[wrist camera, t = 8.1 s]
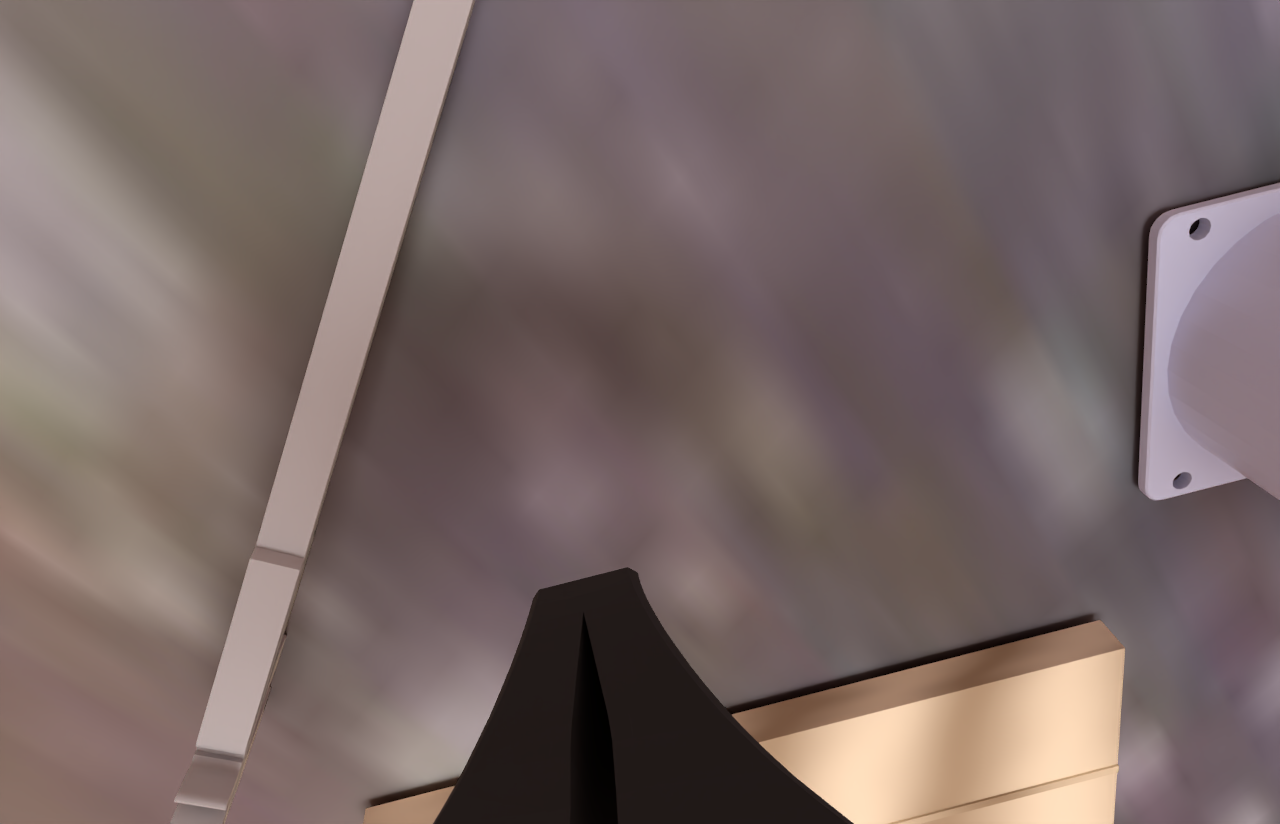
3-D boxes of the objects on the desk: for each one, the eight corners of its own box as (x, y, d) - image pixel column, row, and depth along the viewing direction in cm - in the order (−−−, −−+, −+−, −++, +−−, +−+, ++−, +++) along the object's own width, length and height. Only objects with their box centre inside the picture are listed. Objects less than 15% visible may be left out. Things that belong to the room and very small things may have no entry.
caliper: (273, 693, 25) (202, 905, 19) (231, 685, 24) (146, 898, 19) (507, -103, 17) (504, -140, 12) (450, -129, 17) (419, -179, 11)
